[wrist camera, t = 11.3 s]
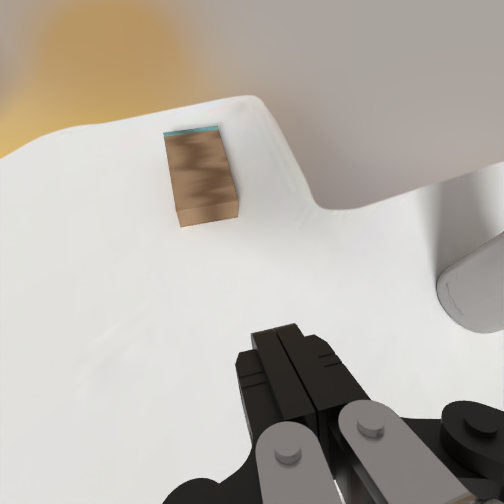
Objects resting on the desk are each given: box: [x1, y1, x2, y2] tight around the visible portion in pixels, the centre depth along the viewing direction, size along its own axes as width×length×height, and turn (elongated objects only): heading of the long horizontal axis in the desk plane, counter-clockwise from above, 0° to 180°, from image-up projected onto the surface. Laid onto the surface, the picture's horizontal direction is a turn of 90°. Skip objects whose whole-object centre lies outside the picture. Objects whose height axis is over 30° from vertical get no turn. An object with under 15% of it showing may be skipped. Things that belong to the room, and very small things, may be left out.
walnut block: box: [163, 126, 238, 227], centre depth 44 cm, size 8×4×14 cm
